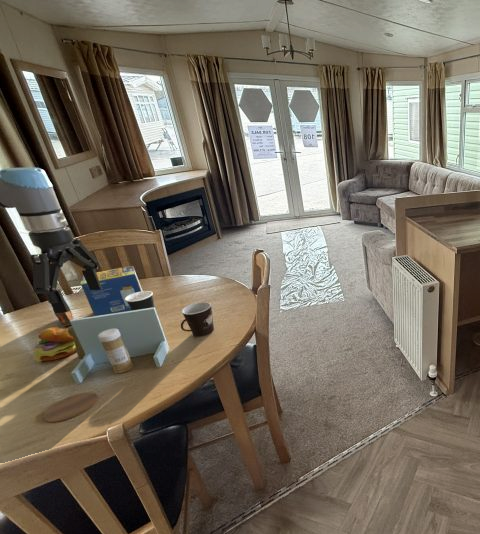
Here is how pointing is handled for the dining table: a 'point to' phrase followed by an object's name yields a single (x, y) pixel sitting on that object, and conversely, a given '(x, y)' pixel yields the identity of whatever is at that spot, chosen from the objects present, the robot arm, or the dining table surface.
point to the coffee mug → (198, 318)
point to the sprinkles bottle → (115, 350)
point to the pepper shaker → (77, 343)
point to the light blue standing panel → (132, 334)
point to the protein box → (112, 291)
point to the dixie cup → (140, 300)
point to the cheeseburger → (54, 344)
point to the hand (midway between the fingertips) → (80, 300)
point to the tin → (65, 317)
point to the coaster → (70, 407)
